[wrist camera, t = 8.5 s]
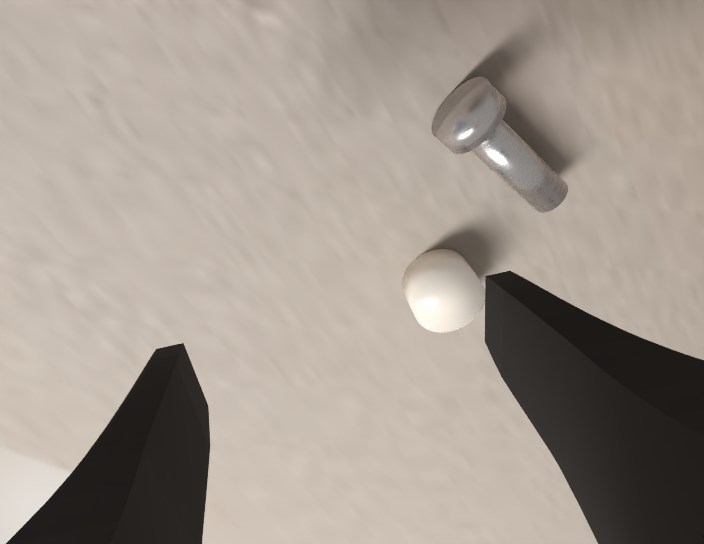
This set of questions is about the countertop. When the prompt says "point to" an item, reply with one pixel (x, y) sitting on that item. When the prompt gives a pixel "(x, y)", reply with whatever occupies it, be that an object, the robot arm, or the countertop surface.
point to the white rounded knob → (443, 290)
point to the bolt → (496, 143)
